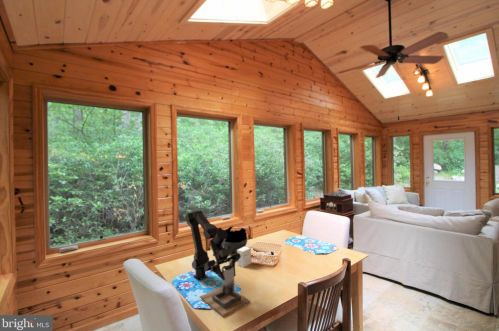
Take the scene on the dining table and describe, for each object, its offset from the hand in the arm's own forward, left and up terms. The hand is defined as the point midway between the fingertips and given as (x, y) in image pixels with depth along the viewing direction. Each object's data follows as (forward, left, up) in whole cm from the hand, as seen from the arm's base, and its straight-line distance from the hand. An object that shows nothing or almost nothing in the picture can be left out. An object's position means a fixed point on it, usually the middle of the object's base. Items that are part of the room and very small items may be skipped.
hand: (229, 278), depth 121 cm
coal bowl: (-50, +42, -13) cm, 67 cm away
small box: (-28, +33, -13) cm, 45 cm away
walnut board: (-3, -1, -12) cm, 13 cm away
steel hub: (-1, 0, -7) cm, 7 cm away
